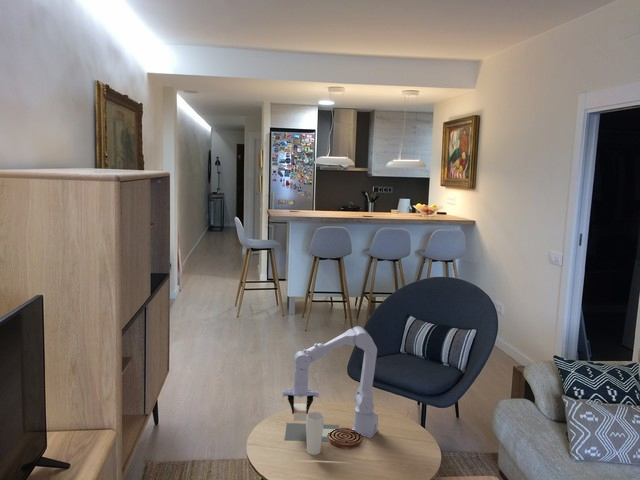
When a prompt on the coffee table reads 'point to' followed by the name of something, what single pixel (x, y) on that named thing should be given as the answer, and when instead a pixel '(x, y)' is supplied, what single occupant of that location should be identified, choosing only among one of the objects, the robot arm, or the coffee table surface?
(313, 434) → the white cylinder
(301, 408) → the card box
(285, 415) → the coffee table surface
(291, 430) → the mat
